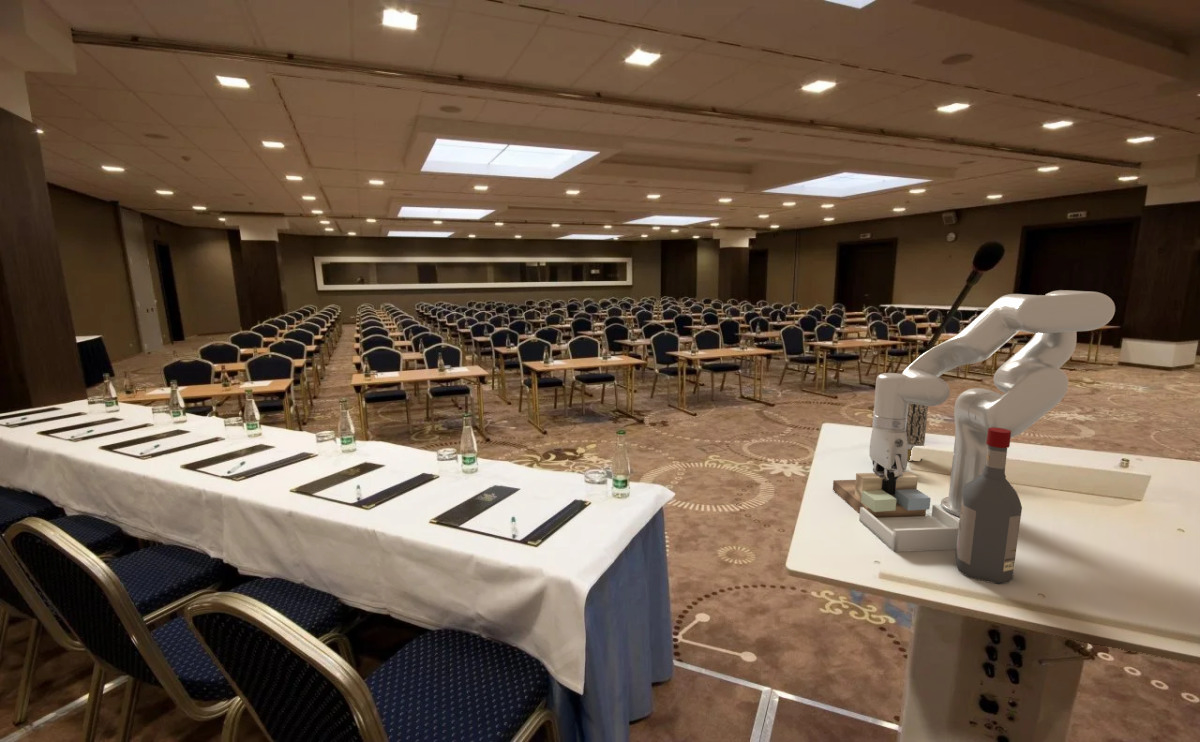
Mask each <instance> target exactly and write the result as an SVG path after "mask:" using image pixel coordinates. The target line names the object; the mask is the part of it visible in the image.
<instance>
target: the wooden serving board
mask: <svg viewBox="0 0 1200 742" xmlns="http://www.w3.org/2000/svg"><path fill="white" fill-rule="evenodd" d="M832 483H833V484H832V491H833V490H834V491H835V492H836V493H837V494H838V495H837V494H836V493H835V492H834V491H833V492H834V493H835V494H836V495H837V496H838V497H840V498H841V499H842V500H843V501H844V500H845V501H844V502H845V503H847V504H848V505H849V506H850V507H851V508H852V509H854V511H856V513H858V514H859V515H860V507H864V508H865V509H866V510H867V511H869V512H870V513H871V514H872V515H873V516H875V517H876V518H886V517H917V516H927V513H926V512H927V510H906V509H905V508H904V507H902V506H901V505H899V504H898V503H897V502H896V510H895V511H880V512H874V511H872V510H871V509H870V508H868V507H867V506H865V505H864V504H863V503H861V500H860V499H859V498H858V497H856V496H855V484H856V479H838V480H837V479H836V480H833V482H832Z"/></svg>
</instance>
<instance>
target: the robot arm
mask: <svg viewBox="0 0 1200 742" xmlns="http://www.w3.org/2000/svg"><path fill="white" fill-rule="evenodd" d="M1115 312H1116V305H1115V302H1114V300H1112V298H1111V297H1109V296H1108V295H1107V294H1104V293H1102V292H1098V291H1088V290H1087V291H1085V290H1067V289H1066V290H1063V289H1059V290H1053V291H1050V292H1048V293H1045V295H1044V294H1043V295H1042V294H1038V295H1037V294H1023V293H1009V294H1005V295H1002V296H1000V297H999V298H997V299H996V300H995V301H994V302H992V303H991V304H990V305H989V306H988V307H987V308H986V309H984V310H983V311H982V312H981V313H980V314H979V315H978V316H977V317H976V318H975V319H973V320H972V321H971V322H970V323H969V324H968V325H966V327H964V328H963V329H962V330H961V331H960V332H959V333H958V334H956V335H954V336H953V337H952V338H949V339H947V340H945V341H943V342H942V343H939V344H937V345H936V346H934V347H932V348H930V349H929V350H927V351H925V352H923V353H922V354H921V355H920V356H919V357H917V358H916V359H915V360H913V361H912V363H910V364H909V365H908V366H907V367H906V368H905V369H904V370H903V371H902V372H901V373H895V372H885V373H884V372H883V373H880V374H878V375H877V376H876V378H875V379H876V380H875V389H874V390H875V391H874V402H873V415H872V425H871V426H872V429H871V435H870V440H869V441H870V442H869V458H870V460H871V462H872V466H873V468H872V471H873V472H872V473H875V471H884V479H883V480H882V490H883V491H885V492H886V493H888V494H890V495H894V494H895V488H896V481H897V480H898V477H900V476H903V472H904V470H906V469H907V468H908V467H907V466H908V461H907V457H908V441H907V432H906V425H907V414H908V404H917V405H923V406H928V407H935V406H940V405H942V404H944V403H945V402H946V401H947V400H948V398H949V397H950V390H951V388H950V386H949V384H948V383H947V382H946V381H945V380H944V379H942V378H941V376H942V375H943V374H945V373H947V372H949V371H951V370H953V369H955V368H958V367H962V366H965V365H966V366H967V365H971V364H977V363H980V362H983V361H986V360H988V359H989V358H990V357H992V356H993V354H994V353H996V352H997V351H998V350H999V349H1000V348H1002V347H1003V346H1004V345H1005V344H1007V343H1008V342H1009V340H1011V339H1012V338H1013V337H1015V336H1016V335H1017V334H1018V333H1019V332H1021V333H1027V334H1029V333H1030V334H1034V335H1033V336H1032V338H1030V340H1029V341H1028V342H1027V343H1026V344H1025V345H1024V346H1023V347H1021V348H1020V349H1019V350H1017V352H1015V353H1014V354H1013V355H1012V356H1011V357H1009V359H1007V360H1006V361H1005V362H1004V363H1002V365H1000V367H998V368H997V370H996V371H995V372H994V375H993V378H992V379H993V383H994V385H995V387H996V388H997V389H998V390H999V391H1000V392H1001V393H1003V394H1001V393H998V392H995V391H992V390H990V389H987V388H979V387H976V388H969V389H966V390H964V391H963V392H961V393H960V394H959V395H958V396H957V398H956V400H955V402H954V407H953V414H954V415H953V416H954V427H955V429H954V431H955V434H954V443H953V444H954V445H953V452H952V453H953V454H952V461H951V472H950V482H949V492H948V496H946V497H943V498H941V500H940V506H941V507H942V508H941V509H943V510H944V511H946V512H947V513H949V514H950V515H954V516H957V517H959V518H960V511H961V502H962V493H963V488H964V486H965V485H966V484H967V483H968V482H970V481H972V480H973V479H975V478H976V477H978V476H980V475H981V474H983V470H984V468H985V463H986V456H987V448H988V445H987V444H986V441H987V434H988V429H989V428H992V427H994V428H1003V429H1007V430H1010V431H1011V438H1015V437H1017V436H1019V435H1021V434H1022V433H1023V432H1025V431H1027V430H1028V429H1029V428H1030V427H1032V426H1033V425H1034V424H1036V423H1037V422H1038V421H1039V420H1040V419H1041V418H1043V417H1044V416H1045V415H1046V414H1048V413H1049V412H1050V411H1051V410H1052V409H1054V408H1055V407H1056V406H1057V405H1058V404H1060V402H1061V401H1062V400H1063V398H1064V397H1065V395H1066V394H1067V391H1068V388H1069V378H1068V376H1067V374H1066V373H1065V372H1064V370H1063V369H1061V368H1062V367H1063V366H1064V364H1065V363H1067V362H1068V361H1069V360H1070V359H1071V357H1072V356H1073V354H1074V353H1075V350H1076V346H1077V340H1078V339H1077V332H1089V331H1094V330H1098V329H1100V328H1103V327H1105V326H1106V325H1107V324H1109V323H1110V321H1111V320H1112V319H1113V317H1114V315H1115ZM891 466H894V467H891ZM889 471H893V472H891V473H890V474H889Z"/></svg>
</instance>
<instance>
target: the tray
mask: <svg viewBox="0 0 1200 742" xmlns="http://www.w3.org/2000/svg"><path fill="white" fill-rule="evenodd" d="M959 520H960V519H958V518H956V517H955V516H953V514H951V513H949V512H948V511H946V510H945V509H943V508H941V507H939V506H938V505H936V504H932V507H931V515H925V516H917V517H886V518H876V517H875V516H873V515H872V514H871V513H870V512H869V511H867V510H866V509H865V508H864V507H860V514H859V522H860V523H861V524H862V525H863V526H865V528H867V529H868V530H869V531H870V532H872V534H874V535H875V536H876V537H877V538H878V539H879V540H880V541H882V542H883V544H885V545H886V546H887V547H888V548H889V549H890V550H891V551H892V552H894V553H897V552H898V553H899V552H924V551H950V550H951V551H952V550H953V551H954V550H955V551H956V547H957V538H958V529H959Z"/></svg>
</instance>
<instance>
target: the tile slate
mask: <svg viewBox="0 0 1200 742" xmlns="http://www.w3.org/2000/svg"><path fill="white" fill-rule="evenodd" d="M895 498H896V502H897V503H898V504H899V505H901V506H902V507H904V508H905V509H906V510H926V511H927V510H930V508H931V507H930V506H931V497H930V496H928V495H927V494H925V493H923V491H920V490H919V489H918V488H917V489H903V490H895Z"/></svg>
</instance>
